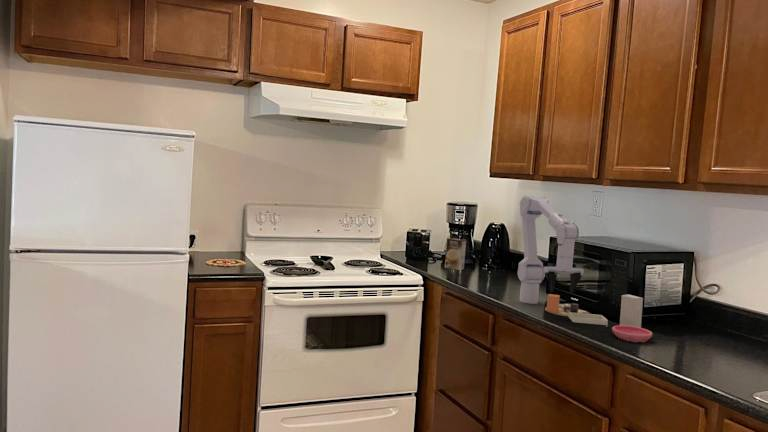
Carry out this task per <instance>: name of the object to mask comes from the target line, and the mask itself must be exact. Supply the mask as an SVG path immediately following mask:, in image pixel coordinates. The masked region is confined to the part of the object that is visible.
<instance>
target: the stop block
mask: <svg viewBox="0 0 768 432" xmlns="http://www.w3.org/2000/svg"><path fill="white" fill-rule="evenodd" d="M560 297H561V295H559V294H553V293H548V295H547V298H546V299H547V300H546V301H547V302H546V307H547V310H545V312H548V311H550V312H556V313H557V312H558V309H559V304H560ZM550 312H549V313H550Z"/></svg>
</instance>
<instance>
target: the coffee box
mask: <svg viewBox="0 0 768 432" xmlns="http://www.w3.org/2000/svg"><path fill="white" fill-rule="evenodd" d="M466 248H467V240H466V239H461V238H454V237H449V238H446V246H445V249H446V250H445V261H444V268H445V269H449V270H454V271H455V270H456V271H462V270H464V269H465V260H466V259H465V258H466Z"/></svg>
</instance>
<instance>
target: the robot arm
mask: <svg viewBox="0 0 768 432" xmlns="http://www.w3.org/2000/svg"><path fill="white" fill-rule="evenodd" d="M519 210H520V211H519V213H520V214H519V215H520V217H521V222H522V223H521V224H522V241H523V243H522V244H523V257H524V258H523V259H522V260H521V261H519V262H518V267H517V268H518V269H517V277H518V279H519V281H520V283H521V284H520V291H519V292H520V293H519V302H521V303H524V304H531V305H535V304H538V303H539V294H540V293H539V291H540V284H541V283H542V281H543V280H544V279H545V276H546V278H547V281H548V285H549V291H550V292H551V293H554V292H555V286H556V285H555V284H556V279H557V273H558V274H569V275H570V277H569V278H570V280H569V281H570V283H569V293H570V294H574V293H575V290H576V287H577V285H578V283H579V281H580V280H581V279H582V277H583V276H582V275H584V272H585V269H583V268H578V267H573V264H574V263H573V262H574V253H575V242H576V240H577V239H578V238H579V235H580V229H579V227H578V225H577V224H575V223H570V222H569V220H568V219H566V218H565V217H564V214H562V213H561V212H556V211H555V210H554V209H553V207H552V206H551V205H550V200H549V199H548V198H547V197H546V196H535V195H533V196H532V195H525V194H524V196H522V197H521V199H520V202H519ZM542 215H543V216H545V217H546V218H547V219H548V225H549V226H551V228H552V229H554V231H555V235H556V242H557V245H558V246H557V254H556V266H544V263H543V262H542V260H541V259H539V258H538V246H537V231H536V230H537V228H536V227H537V226H536V220H537V218H539V217H541V216H542Z"/></svg>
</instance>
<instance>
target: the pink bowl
mask: <svg viewBox="0 0 768 432" xmlns="http://www.w3.org/2000/svg"><path fill="white" fill-rule="evenodd" d="M611 330H612V332H613V334H614V335H615V337H616V338H617V337H618V338H617V339H619V338H620V339H619V340H622V339H623V341H625V340H626V342H630V341H631V343H638V342H642V343H646V342H647V341H648V340H650V339H651V338H652V337H653V332H652V330H651V331H650V330H648V329H646V328H643V327H641V328H640V327H634V326H626V325H620V324H619V325H614V326H612V328H611Z"/></svg>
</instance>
